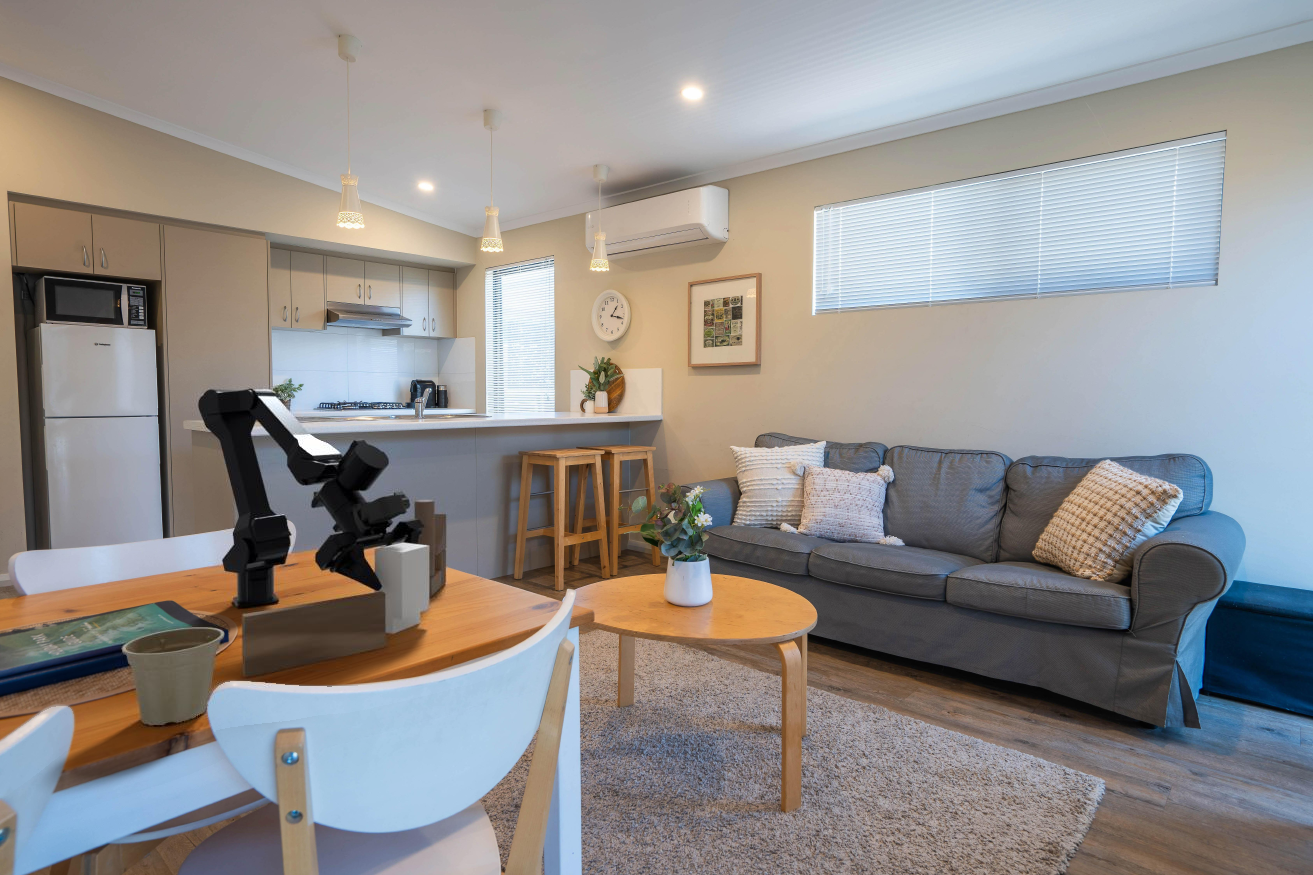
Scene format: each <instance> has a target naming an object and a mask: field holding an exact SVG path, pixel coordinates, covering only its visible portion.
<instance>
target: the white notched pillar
mask: <svg viewBox="0 0 1313 875" xmlns="http://www.w3.org/2000/svg"><path fill="white" fill-rule="evenodd" d="M374 572H375V574H376V576H377V577H378V579H379V581H380V583H381V585H382V588H381V589H380V590H379V591H375V590H374V592H380V591H382V592H384V593H385V599H386V634H390V635H394V634H396V633H399V632H402V631H404V630H407V629H409V628H412V627H414V626H417V625H419V624H420V623H421V613H422V612H425V611H427V610H430V597H429V546H428V545H419V544H410V543H399V544H395V545H390V546H386V545H385V546H381V547H377V548H375V549H374Z"/></svg>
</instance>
